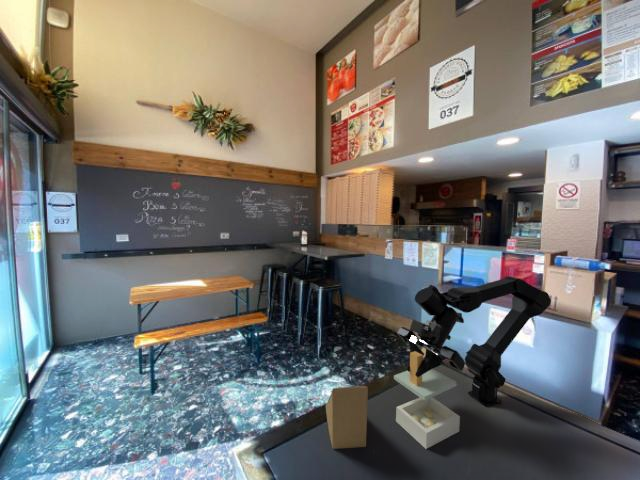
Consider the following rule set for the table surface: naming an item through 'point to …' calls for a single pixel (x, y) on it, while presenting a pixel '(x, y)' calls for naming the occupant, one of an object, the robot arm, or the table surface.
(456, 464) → the table surface
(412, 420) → the tub
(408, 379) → the lid
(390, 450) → the table surface
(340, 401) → the sandwich container
